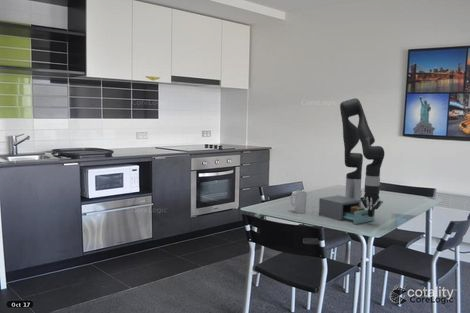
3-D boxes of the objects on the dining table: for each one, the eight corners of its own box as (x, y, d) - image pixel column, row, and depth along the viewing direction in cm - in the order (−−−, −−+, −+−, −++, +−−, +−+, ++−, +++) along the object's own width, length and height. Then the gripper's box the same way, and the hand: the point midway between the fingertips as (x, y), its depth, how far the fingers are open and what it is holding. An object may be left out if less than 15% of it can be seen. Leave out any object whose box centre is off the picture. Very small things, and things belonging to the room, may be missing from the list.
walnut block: (364, 217, 229) (364, 207, 229) (358, 218, 226) (358, 209, 226) (356, 215, 233) (356, 206, 233) (350, 216, 230) (351, 207, 230)
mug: (308, 212, 248) (308, 191, 247) (302, 214, 243) (303, 193, 241) (293, 209, 254) (293, 189, 253) (287, 211, 249) (287, 191, 247)
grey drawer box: (337, 211, 251) (338, 195, 250) (359, 216, 238) (360, 200, 237) (318, 214, 242) (319, 198, 241) (341, 220, 229) (341, 203, 228)
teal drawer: (350, 214, 243) (351, 203, 242) (375, 220, 230) (375, 208, 229) (331, 217, 234) (332, 206, 233) (356, 224, 221) (356, 212, 220)
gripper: (387, 185, 218) (385, 218, 220) (366, 181, 229) (364, 213, 230) (378, 186, 214) (377, 220, 215) (357, 182, 224) (355, 215, 226)
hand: (370, 216), depth 223 cm, fingers closed
